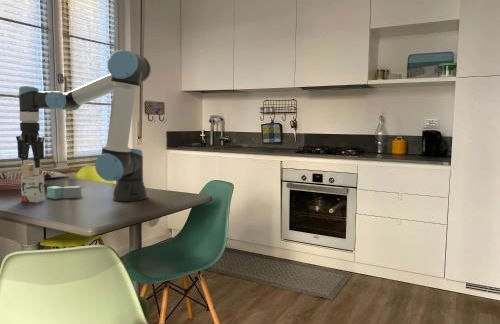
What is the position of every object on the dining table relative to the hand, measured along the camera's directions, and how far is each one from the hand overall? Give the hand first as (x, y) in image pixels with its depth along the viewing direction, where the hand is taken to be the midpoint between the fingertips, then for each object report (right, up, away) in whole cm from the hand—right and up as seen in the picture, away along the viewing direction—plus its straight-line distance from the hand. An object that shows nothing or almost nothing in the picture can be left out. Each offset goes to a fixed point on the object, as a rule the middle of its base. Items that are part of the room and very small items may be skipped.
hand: (31, 174), depth 178 cm
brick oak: (0, 0, 0) cm, 0 cm away
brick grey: (+14, -11, +11) cm, 20 cm away
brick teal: (+6, -11, +10) cm, 16 cm away
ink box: (0, -12, +1) cm, 12 cm away
